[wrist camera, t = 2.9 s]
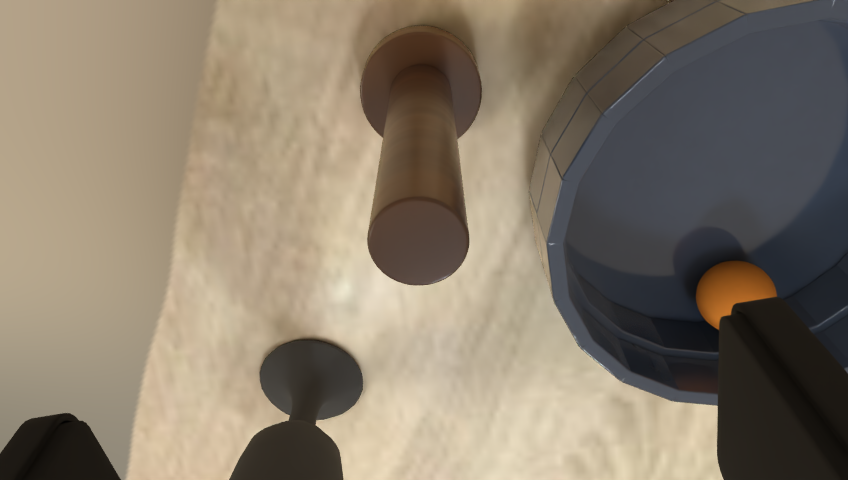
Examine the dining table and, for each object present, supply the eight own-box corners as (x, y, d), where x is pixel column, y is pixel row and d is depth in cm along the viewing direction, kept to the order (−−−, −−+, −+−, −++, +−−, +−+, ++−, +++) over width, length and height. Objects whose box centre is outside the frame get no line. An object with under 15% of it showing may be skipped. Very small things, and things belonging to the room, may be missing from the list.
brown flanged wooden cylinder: (349, 38, 24) (290, 169, 13) (469, 13, 24) (506, 128, 13) (377, 150, 26) (344, 340, 15) (487, 129, 26) (532, 310, 15)
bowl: (505, 24, 24) (523, 57, 19) (950, -66, 22) (1079, -52, 18) (549, 352, 31) (569, 430, 27) (888, 300, 30) (968, 374, 25)
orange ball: (685, 253, 28) (712, 293, 25) (758, 241, 27) (794, 280, 25) (685, 311, 29) (711, 354, 27) (755, 300, 29) (788, 343, 26)
